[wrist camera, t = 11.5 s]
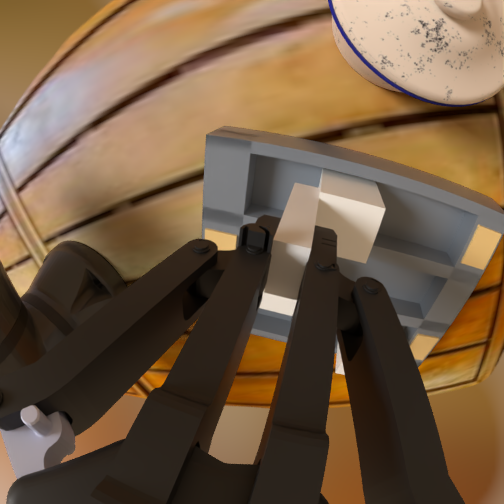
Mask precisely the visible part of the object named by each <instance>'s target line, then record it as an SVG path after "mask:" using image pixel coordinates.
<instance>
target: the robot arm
mask: <svg viewBox="0 0 504 504" xmlns="http://www.w3.org/2000/svg"><path fill="white" fill-rule="evenodd" d="M319 194H320V188H317V187H313V186H309V185H304V184H300V183H295V184H294V186H293V189H292V192H291V194H290V197H289V200H288V202H287V205H286V208H285V210H284V213H283V216H282V218H278V217H274V216H269V215H265V214H264V215H262V216H261V217H259V218H258V219H257V221H256V223H249V224H245V225H243V226H242V227H241V228H240V233H239V243H238V247H237V249H235V250H218V246H217V245H216V243H214V242H213V241H211V240H207V239H195V240H192V241H190V242H188V243H187V244H185V245H184V246H183V247H181V248H180V249H178V250H177V251H176V252H174V253H173V254H172V255H170V256H169V257H168V258H166V259H165V260H163V261H162V262H161V263H159V264H158V265H157V266H155V267H154V268H153V269H151V270H150V271H149V272H147V273H146V274H145V275H143V276H142V277H141V278H139V279H138V280H137V281H136V282H134V283H133V284H132V285H130V286H129V287H128V288H127V286H126V284H125V283H124V281H123V280H122V278H121V277H120V276H119V274H118V273H117V272H116V271H115V269H114V268H113V267H112V266H111V265H110V264H109V263H108V262H107V261H106V260H105V259H104V258H103V257H101V256H100V255H99V254H98V253H96V252H95V251H94V250H92V249H90V248H89V247H87V246H85V245H83V244H81V243H78V242H74V241H64V242H61V243H60V244H58V245H57V246H56V247H55V248H54V249H52V250H51V251H50V252H49V253H48V254H47V256H46V257H45V259H44V261H43V265H42V266H41V268H40V270H39V271H38V273H37V275H36V276H35V278H34V280H33V282H32V284H31V286H30V288H29V289H28V291H27V292H26V293H25V294H24V295H23V296H22V297H21V298H20V297H19V295H18V293H17V291H16V290H15V288H14V286H13V284H12V282H11V280H10V278H9V277H8V275H7V273H6V271H5V269H4V267H3V265H2V263H1V261H0V431H1V433H2V437H3V440H4V443H5V446H6V450H7V453H8V456H9V459H10V462H11V464H12V467H13V470H14V472H15V475H16V478H17V480H16V481H15V482H14V483H13V484H12V486H11V487H10V489H9V491H8V495H7V502H6V504H329V503H328V501H327V500H326V499H325V497H324V496H323V495H322V494H321V493H320V492H321V487H322V482H323V477H324V471H325V466H326V460H327V455H328V448H329V436H328V435H327V434H326V431H325V429H326V421H327V414H328V407H329V399H330V391H331V383H332V374H333V364H334V354H335V342H336V335H337V339H338V344H339V349H340V353H341V358H342V363H343V368H344V373H345V378H346V383H347V388H348V394H349V399H350V405H351V410H352V416H353V422H354V428H355V434H356V441H357V447H358V453H359V461H360V468H361V476H362V484H363V492H364V497H365V503H366V504H465V503H464V501H463V499H462V497H461V496H460V494H459V492H458V490H457V489H456V487H455V485H454V484H453V482H452V480H451V479H450V477H449V475H448V470H447V466H446V461H445V457H444V453H443V449H442V445H441V441H440V437H439V433H438V430H437V427H436V423H435V419H434V416H433V412H432V409H431V406H430V403H429V399H428V396H427V393H426V390H425V387H424V384H423V381H422V378H421V375H420V372H419V370H418V367H417V364H416V361H415V359H414V356H413V353H412V351H411V348H410V345H409V343H408V340H407V338H406V335H405V333H404V330H403V328H402V325H401V323H400V320H399V318H398V316H397V313H396V311H395V308H394V306H393V304H392V302H391V299H390V297H389V295H388V292H387V290H386V288H385V287H384V285H383V284H382V283H381V282H379V281H378V280H376V279H374V278H371V277H360V278H358V279H357V281H356V282H354V281H352V280H350V279H348V278H347V277H345V276H344V275H342V274H341V273H340V272H339V271H340V269H339V266H338V264H337V234H336V233H335V231H334V230H333V229H329V228H325V227H321V226H316V225H315V222H316V215H317V208H318V201H319ZM263 291H264V293H268V294H272V295H276V296H280V297H284V298H289V299H293V300H297V302H296V305H295V309H294V312H293V316H292V319H291V321H292V322H291V327H290V331H289V335H288V340H287V344H286V348H285V352H284V356H283V360H282V364H281V368H280V372H279V376H278V380H277V384H276V388H275V392H274V396H273V399H272V403H271V407H270V411H269V414H268V418H267V422H266V425H265V429H264V432H263V435H262V439H261V443H260V446H259V449H258V452H257V455H256V458H255V461H254V463H253V465H250V464H248V465H247V464H227V463H223V462H221V461H219V460H218V459H216V458H214V457H213V456H211V455H209V454H208V452H209V448H210V445H211V440H212V437H213V434H214V431H215V429H216V426H217V423H218V421H219V417H220V416H221V413H222V410H223V407H224V405H225V402H226V399H227V397H228V394H229V391H230V389H231V386H232V383H233V380H234V378H235V375H236V372H237V369H238V367H239V364H240V361H241V358H242V355H243V353H244V350H245V347H246V344H247V341H248V339H249V336H250V333H251V330H252V327H253V324H254V322H255V319H256V316H257V313H258V310H259V307H260V304H261V301H262V296H263ZM197 319H198V320H197ZM196 320H197V322H196V324H195V326H194V328H193V330H192V331H191V333H190V335H189V337H188V339H187V341H186V343H185V344H184V346H183V348H182V350H181V352H180V354H179V356H178V358H177V360H176V361H175V363H174V365H173V367H172V369H171V371H170V373H169V375H168V377H167V378H166V380H165V382H164V384H163V385H162V386H161V387H160V388H155V389H154V390H153V391H151V393H150V394H149V396H148V397H147V399H146V401H145V403H144V405H143V407H142V409H141V410H140V412H139V414H138V416H137V418H136V420H135V421H134V423H133V425H132V427H131V429H130V431H129V433H128V435H127V437H126V439H123V440H120V441H117V442H114V443H112V444H110V445H108V446H105V447H103V448H100V449H98V450H95V451H93V452H91V453H88V454H85V455H83V456H80V457H78V458H75V459H72V460H69V461H67V462H64V463H61V461H62V459H63V458H64V457H65V456H66V455H70V454H72V453H73V452H74V450H75V436H76V435H79V434H81V433H82V432H84V431H85V430H87V429H88V428H89V427H91V426H92V425H93V424H94V423H95V422H97V421H98V420H99V419H100V418H101V417H102V416H103V415H104V414H105V413H106V412H107V411H108V410H109V409H110V408H111V407H112V406H113V405H114V404H115V403H116V402H117V401H118V400H119V399H120V398H121V397H122V396H123V395H124V394H125V393H126V392H127V391H128V390H129V389H130V388H131V387H132V386H133V385H134V384H135V383H136V382H137V380H138V379H139V378H140V377H141V376H142V375H143V374H144V373H145V372H146V371H147V370H148V369H149V368H150V367H151V366H152V365H153V364H154V363H155V362H156V361H157V360H158V359H159V358H160V357H161V356H162V355H163V354H164V353H165V352H166V351H167V350H168V349H169V348H170V347H171V346H172V345H173V344H174V343H175V342H176V341H177V340H178V338H179V337H180V336H181V335H182V334H183V333H184V332H185V331H186V330H187V329H188V328H189V327H190V326H191V325H192V324H193V323H194V322H195V321H196ZM60 463H61V464H60Z"/></svg>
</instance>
